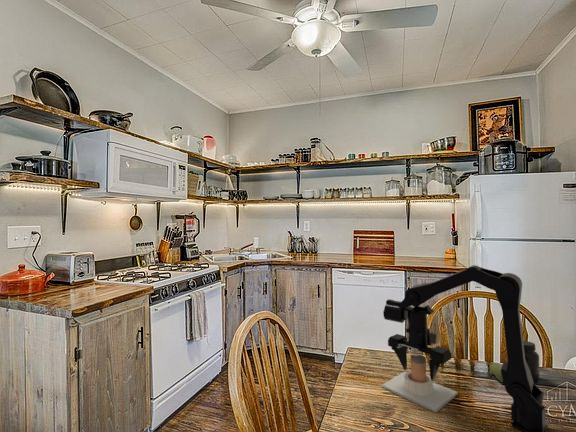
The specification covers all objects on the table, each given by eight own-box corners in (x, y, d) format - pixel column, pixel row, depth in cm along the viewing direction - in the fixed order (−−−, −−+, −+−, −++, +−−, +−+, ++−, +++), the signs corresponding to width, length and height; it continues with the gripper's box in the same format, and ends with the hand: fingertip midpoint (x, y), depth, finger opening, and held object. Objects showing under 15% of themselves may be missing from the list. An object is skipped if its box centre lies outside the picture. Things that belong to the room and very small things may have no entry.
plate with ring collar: (457, 394, 101) (457, 380, 101) (436, 412, 92) (435, 397, 92) (404, 373, 115) (404, 361, 115) (381, 387, 106) (381, 374, 106)
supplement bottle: (544, 384, 106) (543, 347, 106) (520, 382, 107) (520, 346, 107) (532, 374, 113) (532, 339, 113) (511, 372, 114) (510, 338, 114)
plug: (429, 388, 103) (428, 357, 103) (422, 393, 100) (421, 361, 100) (416, 383, 106) (415, 353, 106) (408, 388, 104) (408, 356, 103)
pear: (499, 368, 106) (483, 360, 116) (501, 385, 105) (485, 375, 115) (517, 368, 105) (500, 360, 115) (519, 385, 104) (502, 376, 114)
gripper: (458, 327, 101) (459, 376, 101) (404, 314, 116) (405, 357, 116) (442, 335, 94) (443, 389, 94) (386, 320, 109) (387, 367, 108)
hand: (418, 374), depth 103 cm, fingers open, 9 cm apart
